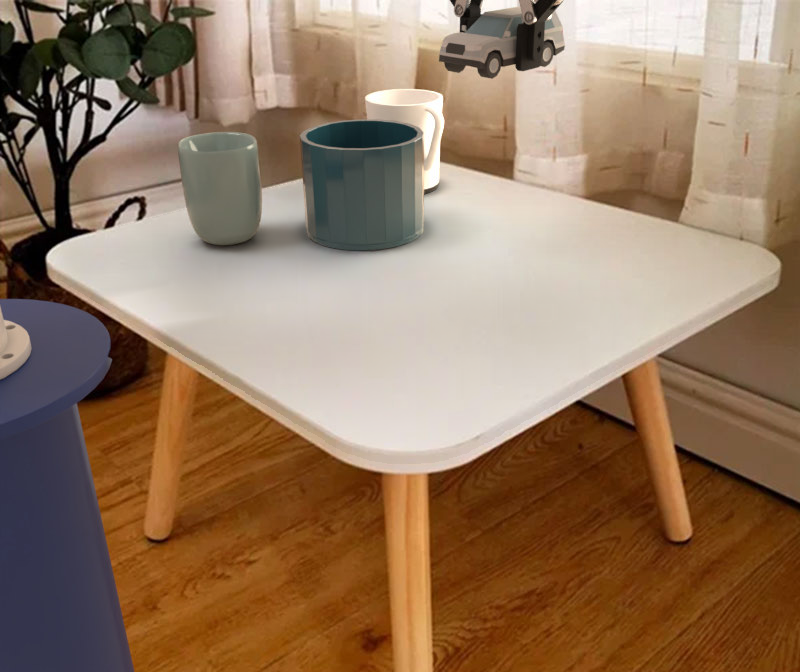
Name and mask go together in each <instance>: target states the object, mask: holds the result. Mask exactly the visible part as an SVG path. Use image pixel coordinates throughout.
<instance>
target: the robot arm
mask: <svg viewBox="0 0 800 672" xmlns="http://www.w3.org/2000/svg"><path fill="white" fill-rule="evenodd" d="M449 2H450V3H451V4H452V6H453V14H454V15H455V16H456V17H457V18H459V33H460V32H463V33H465V31H463V30H462V25H465V26H466V30H468V29H469V28H470V27H471V26H472V25H473V24H474V23H475V22H476V21H477V20H478V19H479V18H480V16H481V15H482V14H483V13H482V10H483V6H484V3H485V0H449ZM563 2H564V0H518V3H519V6H520V7H521V12H522V16H523V20H524V23H521V24H518V27H517V40H516V63H515V64H514V67H515V69H516V71H518V72H526V71H530V70H534V69H537V68H538V69H539V68H540V67H541V66H540V65H541V59H542V57H543V50H544V33H545V21H548V20H550V18H551V16H552V13H553V12H554V11H555V12H556V10H557V9H558V8H559V7H560V6H561V5H562V3H563ZM31 349H32V348H31V343H30V337H29V335H28V333H27V331H26V330H25V329H24V328H23V327H21V326H20V325H18V324H15V323H13V322H11V321H7V320H4V319H3V315H2V311H1V307H0V380H1V379H3V378H5V377H7V376H8V375H10V374H12V373H13V372H15V371H16V370H17V369H18V368H19V367H21V366H22V365H23V364H24V363H25V362H26V360H27V359H28V357H29V356H30V353H31Z"/></svg>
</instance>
